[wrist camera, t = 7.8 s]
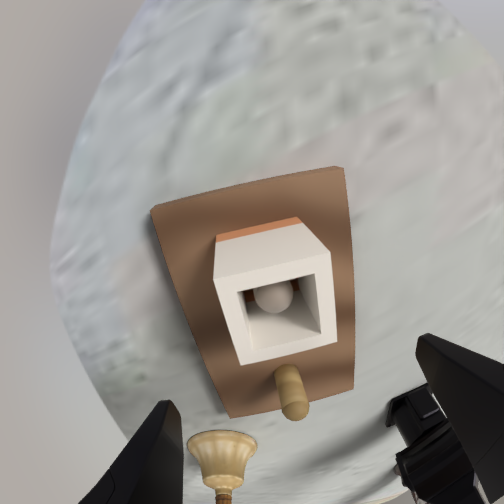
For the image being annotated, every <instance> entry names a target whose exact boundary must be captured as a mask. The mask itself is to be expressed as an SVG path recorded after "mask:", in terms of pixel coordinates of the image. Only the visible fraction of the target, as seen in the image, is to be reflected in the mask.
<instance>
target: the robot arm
mask: <svg viewBox="0 0 504 504" xmlns="http://www.w3.org/2000/svg"><path fill="white" fill-rule="evenodd" d="M415 354H416V358H417V361H418V363H419V365H420V367H421V369H422V371H423V373H424V376H425V378H426V380H427V382H428V383H427V384H425V385H423V386H421V387H419V388H417V389H415V390H412V391H410V392H408V393H406V394H403V395H401V396H399V397H396V398H394V399H393V400H392V401H391V405H390V409H389V413H388V417H387V421H386V427H390V426H393V425H395V424H396V426H397V428H398V430H399V432H400V434H401V436H402V437H403V439H404V441H405V443H406V445H407V448H405V449H404V450H402V451H401V452H398V453H397V454H395V455H396V459H395V460H396V462H397V464H398V467H399V470H400V473H401V479H402V484H403V486H404V487H408V488H409V489H410V490H411V491H412V492H416V494H417V497H418V498H419V499H421V500H423V501H425V502H427V503H429V504H486V502H485V501H484V499H483V497H482V495H481V493H480V491H479V489H478V482H479V481H480V483H481V485H482V487H483V490H484V492H485V494H486V497H487V498H488V501H489V503H490V504H492V503H494V502H495V501H497V500H498V499H499V498H500V497H502V496H503V495H504V364H502V363H500V362H498V361H495V360H493V359H490V358H488V357H486V356H483V355H481V354H478V353H476V352H473V351H471V350H469V349H466V348H464V347H461V346H459V345H457V344H454V343H452V342H449V341H447V340H444V339H442V338H440V337H437V336H435V335H432V334H430V333H426V334H424V335H422V336H420V337H419V338H418V342H417V347H416V352H415ZM432 393H433V394H434V396H435V397H436V399H437V401H438V402H439V404H440V406H441V408H442V409H443V411H444V413H445V415H446V416H447V418H446V417H445V415H444V414H443V412H442V411H441V409H440V407H439V405H438V404H437V402H436V401H435V399H434V398H433V397H432ZM183 462H184V452H183V439H182V426H181V416H180V413H179V411H178V410H177V408H176V407H175V405H174V404H173V402H172V401H171V400H161V401H159V402H158V403H157V405H156V406H155V407H154V409H153V410H152V411H151V413H150V414H149V415H148V417H147V418H146V419H145V421H144V422H143V423H142V425H141V426H140V427H139V429H138V430H137V432H136V433H135V434H134V436H133V437H132V438H131V440H130V441H129V442H128V444H127V445H126V446H125V448H124V449H123V450H122V452H121V453H120V454H119V456H118V457H117V458H116V460H115V461H114V462H113V464H112V465H111V466H110V468H109V469H108V470H107V471H106V473H105V474H104V475H103V477H102V478H101V479H100V480H99V481H98V483H97V484H96V485H95V486H94V488H92V489H91V491H90V492H89V493H88V494H87V495H86V496H85V497H84V498H83V499H82V500H81V501H80V502H79V503H78V504H183Z"/></svg>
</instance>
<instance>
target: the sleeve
mask: <svg viewBox="0 0 504 504" xmlns="http://www.w3.org/2000/svg"><path fill="white" fill-rule="evenodd" d="M290 279H295V280H292V281H290V283H291V285H292V288H293V298H292V301H291V304H290V305H289V307H288V308H287V309H285V310H284V311H282V312H279V313H269V312H266V311H264V310H263V309H262V308H261V307H259V306H258V304H257V303H256V301H255V297H254V292H253V290H250V291H245V292H244V290H247V289H252V288H256V287H260V286H265V285H269V284H273V283H277V282H282V281H286V280H290ZM213 281H214V284H215V287H216V291H217V294H218V297H219V300H220V304H221V307H222V310H223V313H224V316H225V319H226V323H227V326H228V329H229V332H230V335H231V338H232V341H233V344H234V347H235V350H236V353H237V356H238V359H239V362H240V365H246V364H251V363H256V362H260V361H265V360H269V359H274V358H278V357H282V356H286V355H290V354H294V353H298V352H302V351H306V350H310V349H313V348H317V347H321V346H324V345H328V344H331V343H334V342H337V327H336V311H335V297H334V285H333V274H332V263H331V254H330V251H329V250H328V249H327V248H326V247H325V246H324V245H323V244H322V243H321V241H320V240H319V239H318V238H317V237H316V236H315V235H314V234H313V233H312V232H311V231H310V230H309V229H308V228H307V227H306V226H305V225H304V224H303V222H302V221H301V220H300V219H299V218H298V217H293V218H289V219H284V220H280V221H275V222H271V223H266V224H262V225H257V226H253V227H249V228H244V229H240V230H236V231H231V232H227V233H223V234H219V235H216V246H215V260H214V275H213Z"/></svg>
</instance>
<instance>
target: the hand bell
mask: <svg viewBox="0 0 504 504" xmlns="http://www.w3.org/2000/svg"><path fill="white" fill-rule="evenodd" d="M187 446H188V449H189V451H190V453H191V454H192V455H193V456H194V457H196V459H197V460H198V462H199V464H200V467H201V472H202V478H203V483H204V484H205V485H206V486H208V487H210V488H213V489H215V492H216V497H215V499H216V504H231V500H232V497H231V495H232V490H233V489H235V488H238V487H240V486H241V485H242V484H243V482H244V471H245V466H246V463H247V461H248V460H249V458H250V457H252V456H253V455H254V453H255V452H256V450H257V443H256V441H255V440H254V439H253V438H252V437H250V436H248V435H246V434H243V433H239V432H235V431H228V430H214V431H206V432H202V433H199V434H196V435H194V436H193V437H191V438H190V439H189V441H188V443H187Z"/></svg>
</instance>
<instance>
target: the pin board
mask: <svg viewBox="0 0 504 504" xmlns="http://www.w3.org/2000/svg"><path fill="white" fill-rule="evenodd" d="M150 213H151V216H152V220H153V223H154V226H155V229H156V233H157V236H158V239H159V242H160V245H161V248H162V252H163V255H164V258H165V261H166V264H167V266H168V269H169V272H170V275H171V278H172V281H173V284H174V287H175V289H176V292H177V295H178V298H179V300H180V303H181V306H182V308H183V311H184V314H185V316H186V319H187V321H188V324H189V326H190V329H191V331H192V334H193V336H194V339H195V341H196V344H197V346H198V349H199V351H200V353H201V356H202V358H203V361H204V363H205V365H206V368H207V370H208V372H209V374H210V377H211V379H212V381H213V383H214V386H215V388H216V390H217V392H218V394H219V396H220V399H221V401H222V403H223V405H224V407H225V409H226V411H227V413H228V415H229V417H230V419H231V418H237V417H243V416H249V415H254V414H260V413H265V412H270V411H274V410H279V409H282V413H283V414H284V415H285V417H286V418H287V419H289V420H291V421H299V420H302V419H303V418H305V417H306V416H307V414H308V412H309V402H312V401H315V400H319V399H323V398H326V397H329V396H333V395H336V394H339V393H343V392H346V391H349V390H352V389H353V388H354V366H355V292H354V269H353V253H352V239H351V227H350V217H349V207H348V198H347V190H346V182H345V175H344V168H341V167H337V166H332V167H326V168H320V169H314V170H309V171H303V172H298V173H292V174H287V175H282V176H277V177H272V178H267V179H262V180H257V181H252V182H248V183H243V184H239V185H234V186H230V187H226V188H221V189H217V190H213V191H209V192H205V193H201V194H197V195H193V196H189V197H185V198H181V199H177V200H173V201H170V202H166V203H162V204H159V205H155V206H154V207H153V208H152V209H151V210H150ZM293 217H298V218H299V219H300V220H301V221H302V222H303V224H304V225H305V226H306V227H307V228H308V229H309V230H310V231H311V232H312V233H313V234H314V235H315V236H316V237H317V238H318V239H319V240H320V241H321V243H322V244H323V245H324V246H325V247H326V248H327V249H328V250H329V251H330V254H331V263H332V274H333V285H334V297H335V311H336V327H337V342H334V343H331V344H328V345H324V346H321V347H317V348H313V349H310V350H306V351H302V352H298V353H294V354H290V355H286V356H282V357H278V358H274V359H269V360H265V361H260V362H256V363H251V364H246V365H240V362H239V359H238V356H237V353H236V350H235V347H234V344H233V341H232V338H231V335H230V332H229V329H228V326H227V323H226V319H225V316H224V313H223V310H222V307H221V304H220V300H219V297H218V294H217V291H216V287H215V284H214V281H213V275H214V260H215V246H216V235H219V234H223V233H227V232H231V231H236V230H240V229H244V228H249V227H253V226H257V225H262V224H266V223H271V222H275V221H280V220H284V219H289V218H293ZM292 280H295V279H290V280H286V281H282V282H277V283H273V284H269V285H265V286H260V287H256V288H252V289H247V290H244V292H245V291H250V290H253V292H254V297H255V301H256V303H257V304H258V306H259V307H261V308H262V309H263V310H264V311H266V312H269V313H279V312H282V311H284V310H285V309H287V308H288V307H289V305H290V304H291V301H292V298H293V288H292V285H291V283H290V281H292Z"/></svg>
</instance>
